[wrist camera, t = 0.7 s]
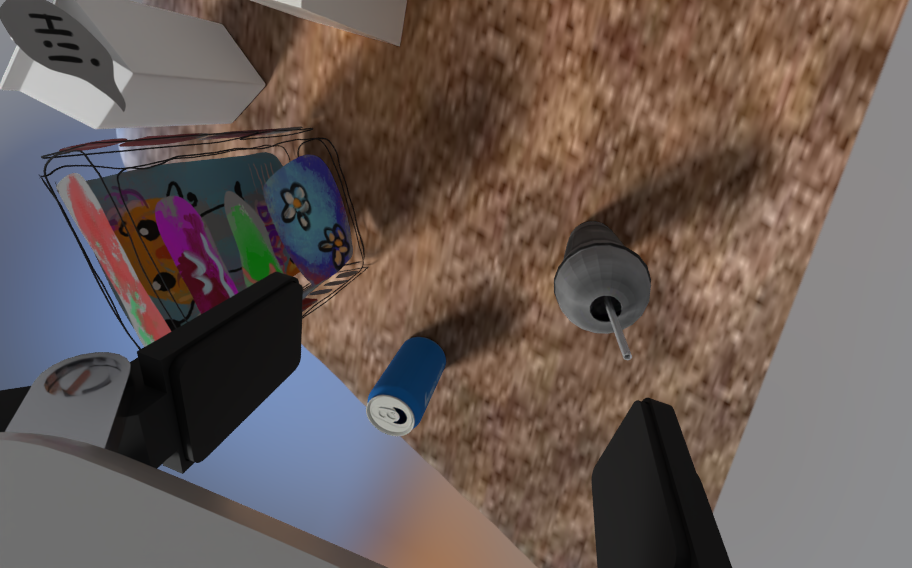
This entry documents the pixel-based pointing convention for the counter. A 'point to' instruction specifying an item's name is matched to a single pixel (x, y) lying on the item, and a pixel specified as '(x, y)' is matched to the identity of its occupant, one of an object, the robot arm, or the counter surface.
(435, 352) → the beverage can
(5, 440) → the robot arm
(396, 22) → the box
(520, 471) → the counter surface
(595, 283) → the beverage cup
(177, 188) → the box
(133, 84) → the milk carton
